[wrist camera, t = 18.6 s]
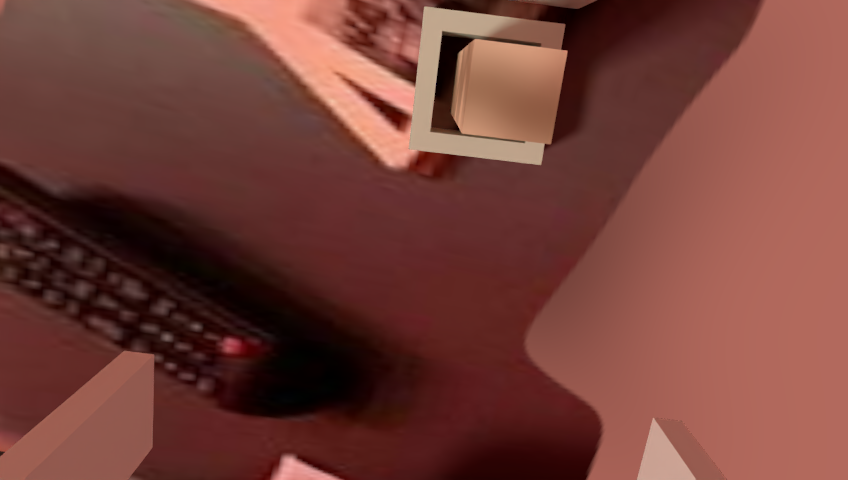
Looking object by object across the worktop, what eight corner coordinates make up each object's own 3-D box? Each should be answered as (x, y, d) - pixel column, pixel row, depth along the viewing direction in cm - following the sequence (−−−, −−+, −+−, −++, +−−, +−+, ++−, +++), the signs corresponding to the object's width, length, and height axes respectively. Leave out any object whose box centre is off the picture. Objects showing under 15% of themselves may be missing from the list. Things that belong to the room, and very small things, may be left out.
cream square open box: (530, 156, 43) (540, 164, 39) (410, 142, 43) (408, 149, 39) (552, 29, 40) (565, 24, 36) (424, 13, 40) (424, 6, 36)
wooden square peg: (503, 118, 42) (551, 144, 26) (449, 111, 42) (462, 133, 26) (512, 61, 41) (567, 50, 25) (457, 54, 41) (475, 38, 24)
